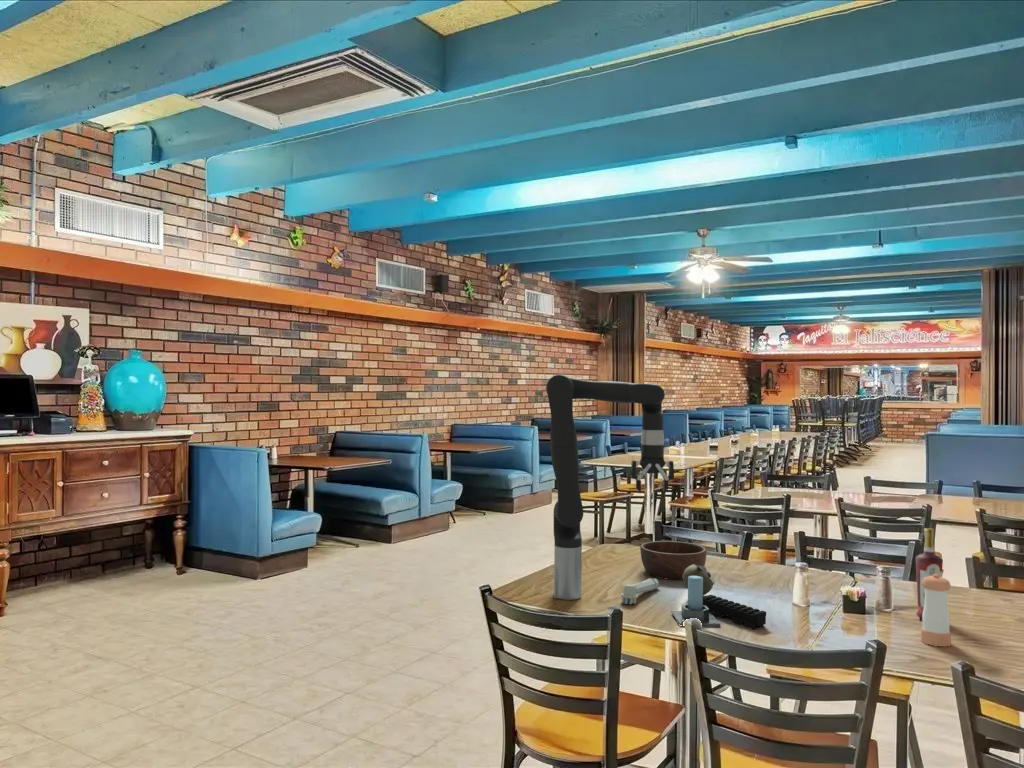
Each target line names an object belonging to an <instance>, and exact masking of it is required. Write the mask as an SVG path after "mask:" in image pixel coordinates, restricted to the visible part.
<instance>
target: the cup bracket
mask: <svg viewBox="0 0 1024 768" xmlns="http://www.w3.org/2000/svg"><path fill="white" fill-rule="evenodd" d="M671 613H672V615H673V616H674V617H675V619H676V620H677V621H678V623H679V624H680V625H682V626H683V622H684V621H685V620H686V619H690V618H697V619H699V620H700V621H701V623H702V626H703V627H702V628H704V627H705V628H707V627H708V628H721V622H720V621H719V620H718V619H717V617H715V616H713V615H712V614H713V613H712V614H711V613H710V611H709V608H708V607H707V606H705V605H703V610H691V609H688V603H686V604H682V605H681V611H679V610H671V611H670V614H671ZM672 615H671V616H672ZM673 616H672V617H673ZM674 617H673V618H674ZM675 619H674V620H675ZM676 620H675V621H676ZM678 623H677V624H678ZM679 624H678V625H679Z"/></svg>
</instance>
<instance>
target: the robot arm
mask: <svg viewBox="0 0 1024 768" xmlns="http://www.w3.org/2000/svg"><path fill="white" fill-rule="evenodd" d="M545 388H546V389H545V390H546V395H547V398H548V404H549V411H550V436H549V438H550V446H549V447H550V457H551V464H552V469H553V473H554V474H553V475H554V476H555V477H554V478H555V481H556V485H557V501H556V502H555V505H554V507H553V537H554V538H553V539H554V553H553V554H554V555H553V556H554V557H553V559H554V564H553V597H554V599H559V600H569V601H571V600H572V601H573V600H578V599H580V598H581V597H582V570H583V569H582V561H583V560H582V559H583V557H582V554H583V553H582V552H583V551H582V550H583V549H582V547H583V544H582V543H583V540H582V532H581V522H582V520H583V518H584V508H583V501H582V496H581V490H580V467H579V466H580V465H579V463H580V462H579V458H580V457H579V446H578V437H577V436H578V435H577V431H576V430H577V429H576V425H575V422H574V420H575V419H574V416H573V415H574V413H573V409H574V408H573V401H574V400H577V399H579V400H580V399H582V400H594V401H602V402H609V403H617V404H618V403H620V404H621V403H623V404H632V403H633V404H634V403H635V404H641V411H642V421H641V436H640V437H641V438H640V439H641V440H640V449H641V450H640V454H641V455H640V460H635V459H632V460H631V466H630V478H632V479H634V480H635V489H636V490H637V492H642V478H643V477H644V476H645V475H646V474H655V475H656V474H659V475H661V477H662V479H663V480H662V492H665V493H666V492H667V491H668V490H669V481H670V480H673V479H675V469H674V461H673V460H670V459H669V460H666V461H665V458H664V457H665V454H664V453H665V435H664V415H663V414H662V402H663V401H664V400H665V396H666V395H665V390H664V388H663V386H661V385H659V384H656V383H633V382H626V381H625V382H624V381H611V380H610V381H609V380H608V381H603V380H601V381H598V380H597V381H596V380H595V381H593V380H582V379H576V378H572V377H569V376H567V375H565V374H555V375H552V376H551V377H550V378H549V379H548V381H547V382H546V386H545ZM639 465H640V467H641V469H640V471H639V472H638V474H636V473H637V472H636V471H637V468H638V467H639ZM665 465H666V467H667V468H668V475H667V474H666V472H665V471H664V469H663V468H664V467H665Z"/></svg>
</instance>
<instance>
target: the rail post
mask: <svg viewBox="0 0 1024 768" xmlns="http://www.w3.org/2000/svg"><path fill="white" fill-rule="evenodd" d="M687 604H688V609H691V610H703V577H700V576H689V577H688V589H687Z"/></svg>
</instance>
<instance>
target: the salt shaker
mask: <svg viewBox="0 0 1024 768" xmlns="http://www.w3.org/2000/svg"><path fill="white" fill-rule="evenodd" d="M922 585H923V587H925V604H924V610H923V615H922V619H921V621H922V627H921V628H920V641H921V642H922V643H923V642H924V643H923V644H925V643H927V644H926V645H928V644H930V645H929V646H931V645H936V646H935V647H937V646H949V647H951V646H952V632H951V631H950V624H951V623H950V621H951V620H950V619H951V618H950V613H949V607H948V591H950V589H951V587H952V586H951V585H952V584H951V583H950V581H949V580H948V579H947V578H945V577H943V576H942V577H939V575H938V574H933V576H927V577H924V579H923V580H922ZM950 645H951V646H950Z"/></svg>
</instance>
